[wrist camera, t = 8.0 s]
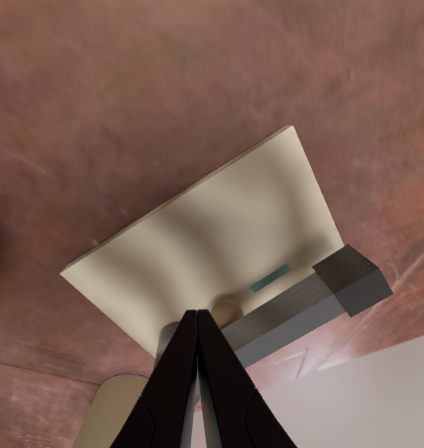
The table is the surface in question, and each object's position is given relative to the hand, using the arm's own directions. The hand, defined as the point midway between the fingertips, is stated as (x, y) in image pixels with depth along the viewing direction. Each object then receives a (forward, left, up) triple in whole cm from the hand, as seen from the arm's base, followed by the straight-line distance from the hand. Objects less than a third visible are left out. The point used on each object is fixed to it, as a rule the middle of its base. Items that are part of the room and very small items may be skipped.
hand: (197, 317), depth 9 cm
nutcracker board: (-2, -6, -12) cm, 13 cm away
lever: (-1, -9, -10) cm, 13 cm away
